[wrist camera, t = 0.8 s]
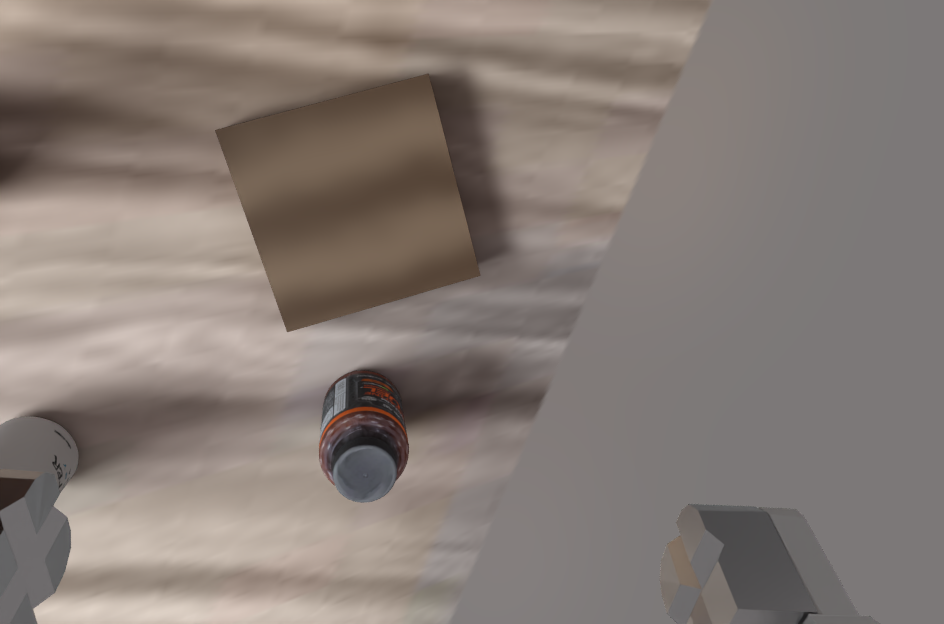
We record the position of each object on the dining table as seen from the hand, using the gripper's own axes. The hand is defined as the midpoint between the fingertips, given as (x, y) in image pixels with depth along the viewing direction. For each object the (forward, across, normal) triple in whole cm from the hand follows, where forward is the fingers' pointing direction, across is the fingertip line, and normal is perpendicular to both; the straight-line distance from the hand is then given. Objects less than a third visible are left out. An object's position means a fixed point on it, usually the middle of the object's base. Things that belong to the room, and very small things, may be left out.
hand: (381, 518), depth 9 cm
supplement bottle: (+36, -2, -29) cm, 46 cm away
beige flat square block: (+40, -4, -14) cm, 43 cm away
